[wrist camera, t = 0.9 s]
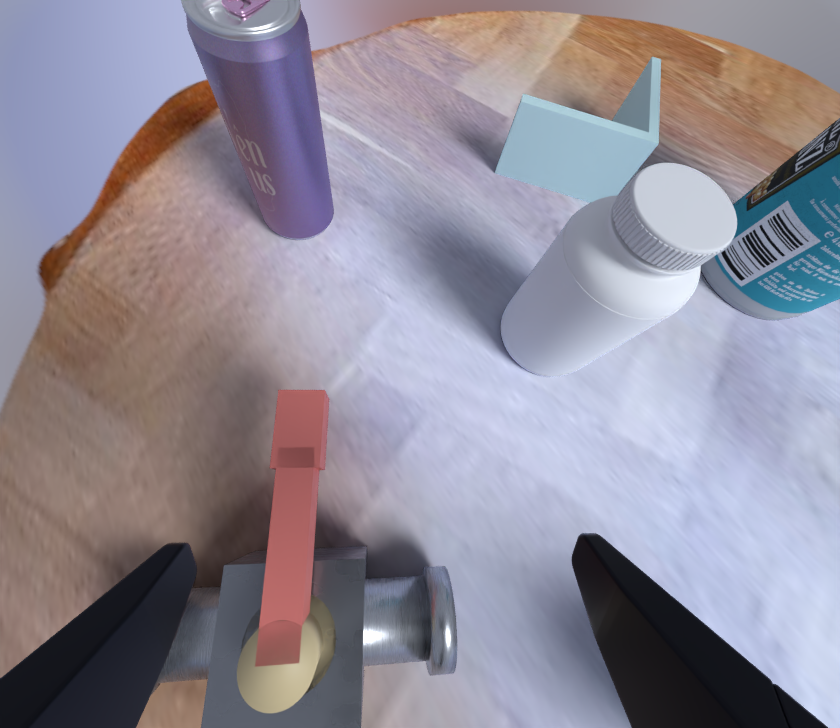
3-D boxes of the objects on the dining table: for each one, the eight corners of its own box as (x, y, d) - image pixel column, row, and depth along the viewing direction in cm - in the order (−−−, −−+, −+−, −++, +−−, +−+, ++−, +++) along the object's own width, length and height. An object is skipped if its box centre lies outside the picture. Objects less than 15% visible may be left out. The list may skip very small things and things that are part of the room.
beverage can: (348, 212, 33) (328, -1, 19) (304, 255, 30) (244, 52, 16) (295, 179, 33) (238, -52, 19) (249, 219, 31) (147, -7, 17)
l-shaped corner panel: (612, 133, 41) (660, 59, 34) (604, 210, 37) (658, 143, 30) (512, 102, 41) (541, 21, 34) (493, 176, 37) (521, 101, 30)
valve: (442, 671, 22) (460, 719, 17) (149, 696, 20) (78, 759, 15) (437, 542, 24) (452, 554, 19) (175, 554, 22) (121, 570, 17)
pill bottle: (530, 396, 29) (680, 301, 15) (481, 313, 31) (570, 160, 17) (606, 358, 31) (802, 242, 17) (555, 282, 33) (690, 122, 19)
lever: (320, 685, 17) (313, 709, 15) (247, 691, 16) (231, 717, 14) (336, 399, 21) (332, 390, 19) (279, 399, 21) (270, 389, 19)
